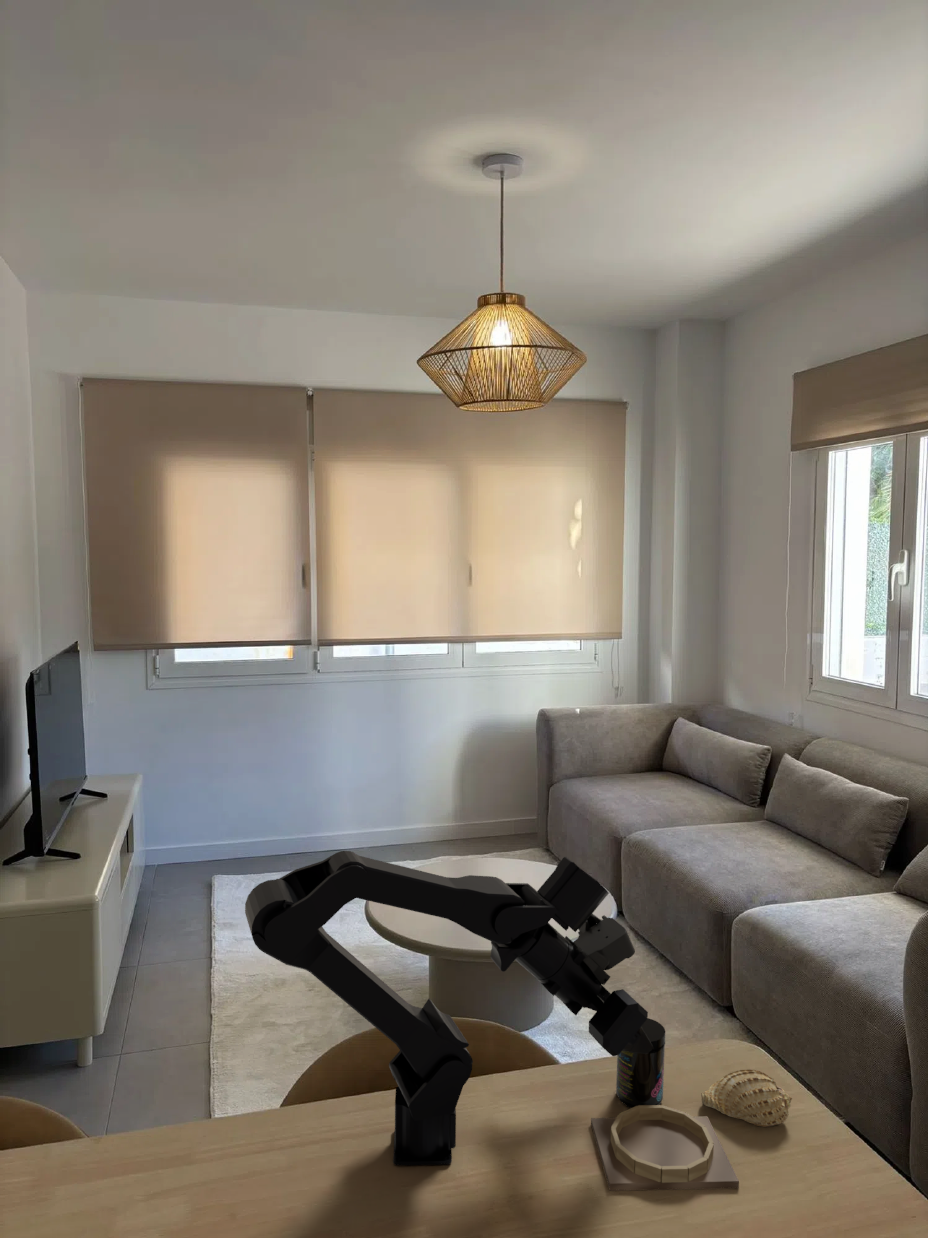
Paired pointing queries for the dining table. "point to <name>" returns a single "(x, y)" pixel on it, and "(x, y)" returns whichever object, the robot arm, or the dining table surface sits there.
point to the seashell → (749, 1098)
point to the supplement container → (642, 1070)
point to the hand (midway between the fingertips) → (630, 1030)
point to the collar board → (661, 1151)
